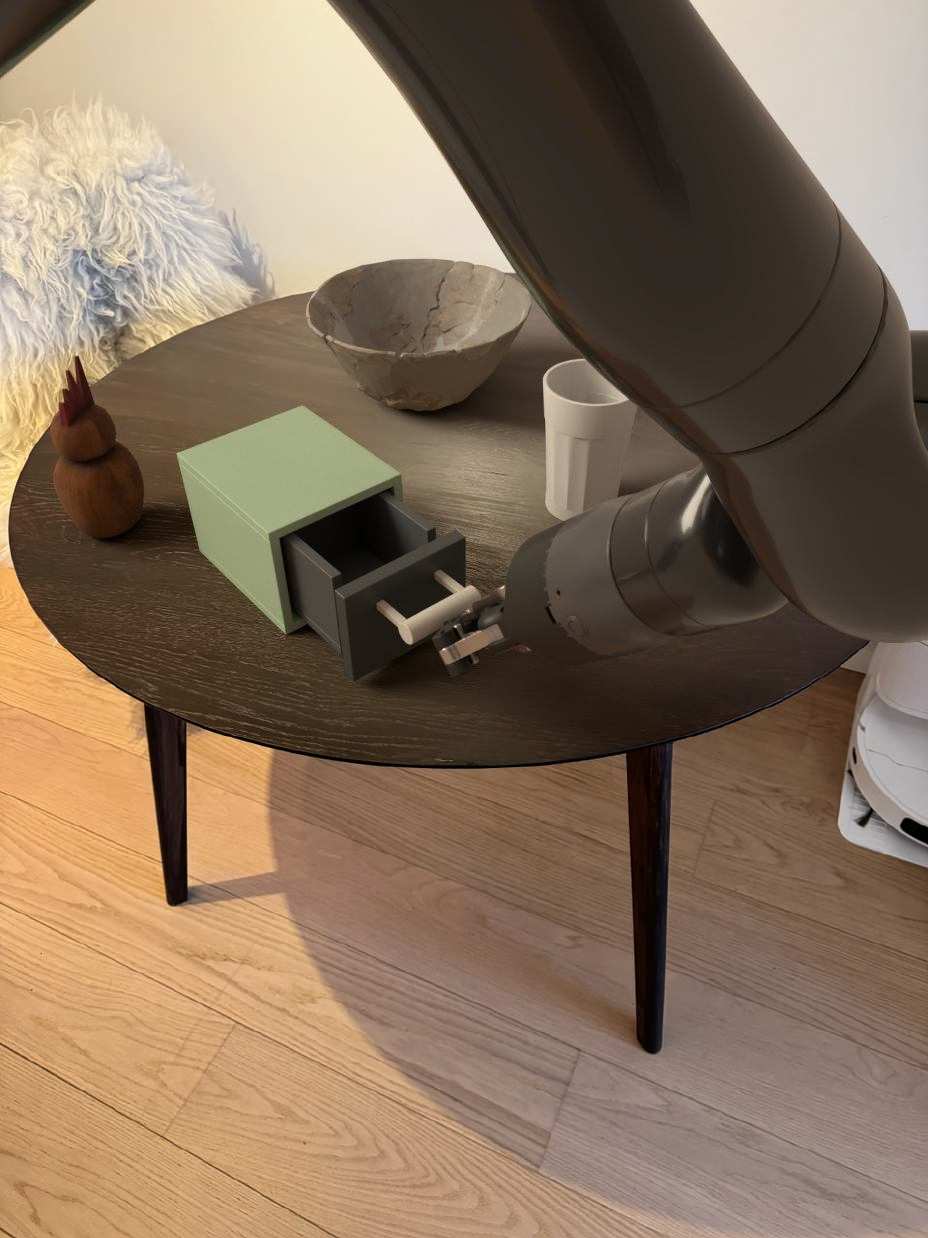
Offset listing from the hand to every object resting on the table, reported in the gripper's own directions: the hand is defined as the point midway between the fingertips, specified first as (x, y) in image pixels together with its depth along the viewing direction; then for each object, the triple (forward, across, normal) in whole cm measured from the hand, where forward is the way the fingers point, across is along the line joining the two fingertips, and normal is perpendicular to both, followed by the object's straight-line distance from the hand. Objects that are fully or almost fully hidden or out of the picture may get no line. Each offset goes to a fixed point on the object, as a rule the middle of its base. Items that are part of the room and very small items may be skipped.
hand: (457, 633), depth 62 cm
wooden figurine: (+30, +10, -20) cm, 37 cm away
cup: (+12, -24, -3) cm, 27 cm away
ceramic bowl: (+31, -26, -21) cm, 45 cm away
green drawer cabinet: (+19, 0, -10) cm, 21 cm away
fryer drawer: (+10, 0, -3) cm, 11 cm away
